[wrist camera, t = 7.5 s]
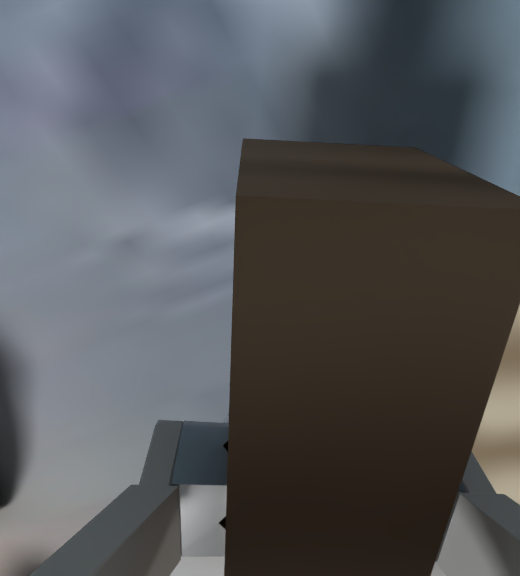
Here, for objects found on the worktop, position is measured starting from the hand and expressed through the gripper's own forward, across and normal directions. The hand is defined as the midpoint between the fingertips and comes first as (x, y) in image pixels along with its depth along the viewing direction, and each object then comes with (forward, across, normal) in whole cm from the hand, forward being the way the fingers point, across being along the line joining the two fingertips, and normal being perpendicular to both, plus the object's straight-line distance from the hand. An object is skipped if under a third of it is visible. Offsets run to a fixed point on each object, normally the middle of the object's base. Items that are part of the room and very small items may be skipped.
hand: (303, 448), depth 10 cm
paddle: (+1, 0, +3) cm, 3 cm away
